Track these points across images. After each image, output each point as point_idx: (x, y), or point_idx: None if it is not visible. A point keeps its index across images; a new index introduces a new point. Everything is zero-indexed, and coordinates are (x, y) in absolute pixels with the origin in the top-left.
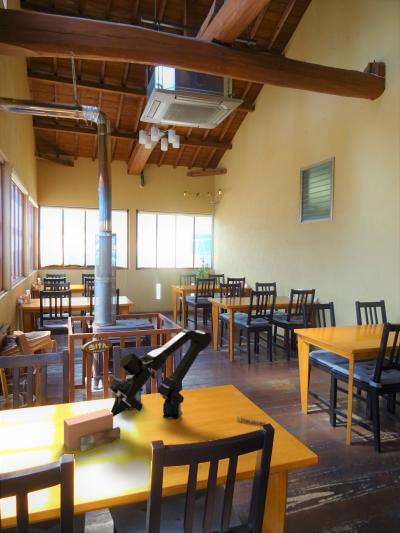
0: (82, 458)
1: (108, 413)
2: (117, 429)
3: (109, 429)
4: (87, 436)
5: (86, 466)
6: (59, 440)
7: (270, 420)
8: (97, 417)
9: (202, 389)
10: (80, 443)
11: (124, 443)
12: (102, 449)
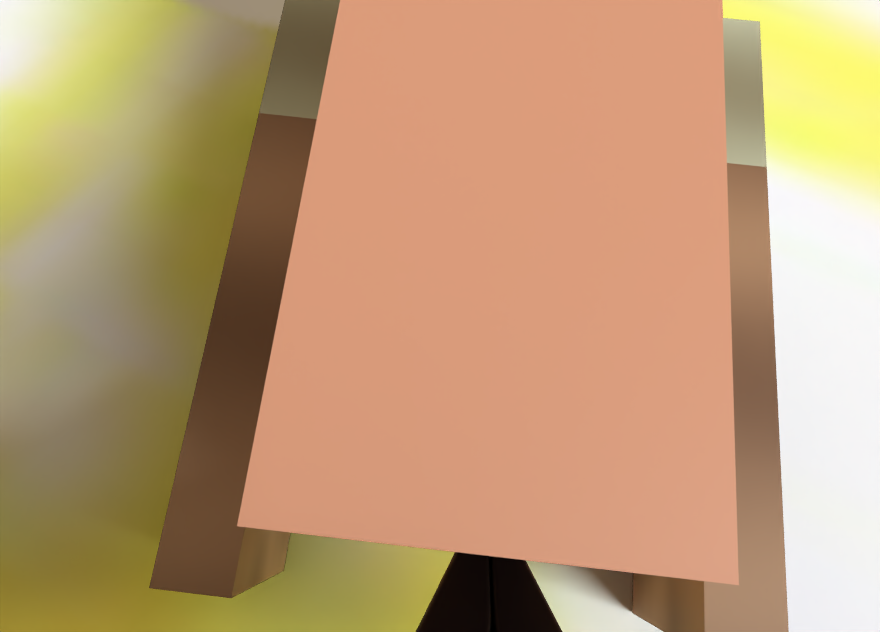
0: (193, 34)
1: (349, 413)
2: (168, 524)
3: None
4: (318, 54)
5: (40, 6)
6: None
7: None
8: (341, 82)
9: None
10: None
11: (82, 546)
12: (184, 254)
